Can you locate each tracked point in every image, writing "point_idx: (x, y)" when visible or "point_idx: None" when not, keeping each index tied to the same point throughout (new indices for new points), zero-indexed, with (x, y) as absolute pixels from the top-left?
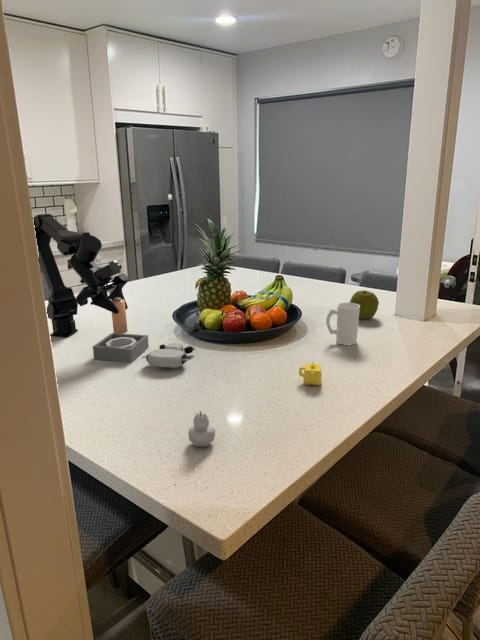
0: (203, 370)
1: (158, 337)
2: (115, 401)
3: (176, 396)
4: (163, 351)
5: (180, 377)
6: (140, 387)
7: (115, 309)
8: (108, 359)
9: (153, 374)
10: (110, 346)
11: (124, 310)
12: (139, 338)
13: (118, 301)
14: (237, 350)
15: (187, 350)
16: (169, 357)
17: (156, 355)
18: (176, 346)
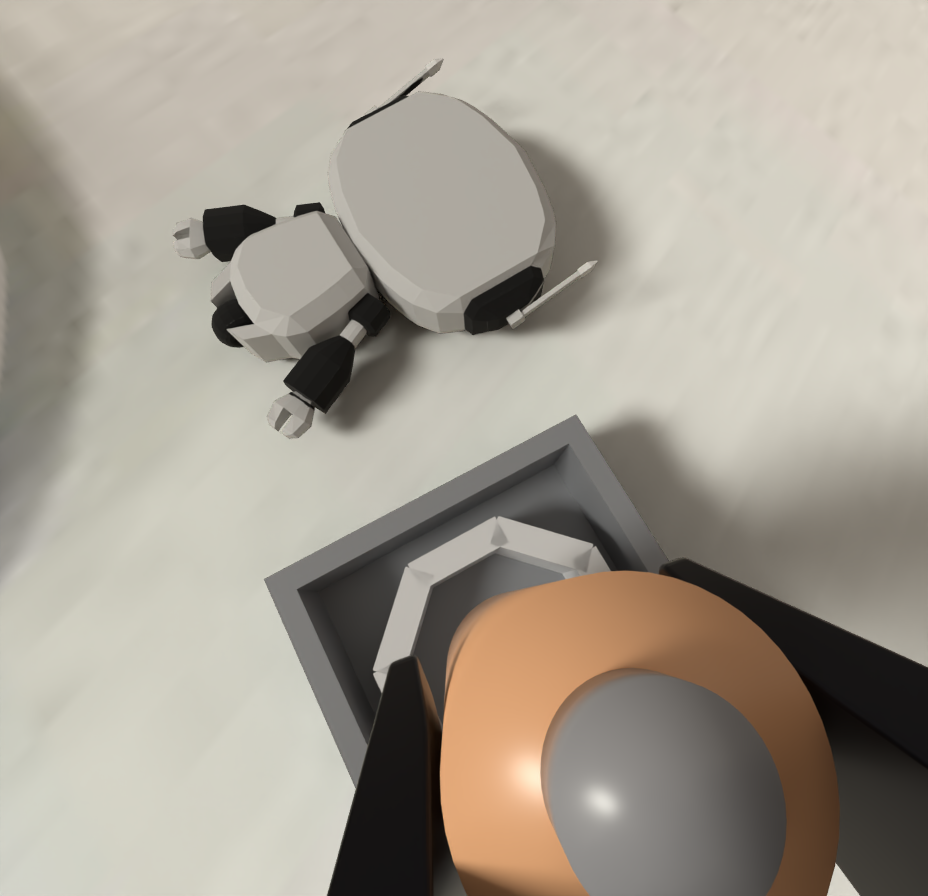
0: (353, 87)
1: (78, 714)
2: (863, 147)
3: (630, 9)
4: (431, 224)
5: (490, 112)
6: (702, 168)
7: (744, 587)
8: None
9: (565, 228)
10: None
11: (520, 593)
12: (325, 635)
13: (670, 672)
14: (12, 121)
15: (259, 212)
16: (483, 117)
17: (519, 194)
18: (305, 226)
